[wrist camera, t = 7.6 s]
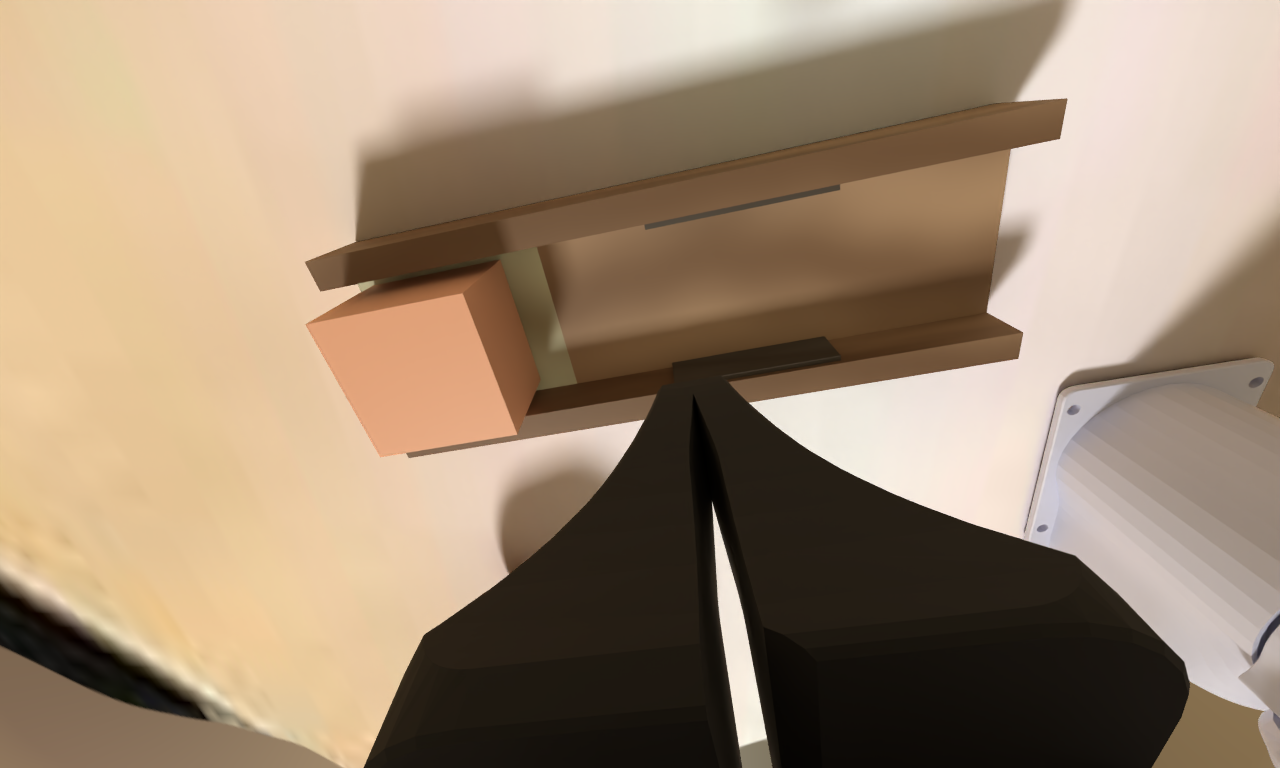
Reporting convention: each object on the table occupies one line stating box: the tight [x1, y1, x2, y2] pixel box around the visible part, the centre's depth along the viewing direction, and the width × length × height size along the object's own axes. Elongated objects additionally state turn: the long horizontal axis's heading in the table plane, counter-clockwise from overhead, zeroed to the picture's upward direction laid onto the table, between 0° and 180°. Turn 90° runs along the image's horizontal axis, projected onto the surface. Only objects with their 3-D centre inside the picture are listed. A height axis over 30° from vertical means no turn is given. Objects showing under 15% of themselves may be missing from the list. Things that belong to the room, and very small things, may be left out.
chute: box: [305, 99, 1067, 458], centre depth 17 cm, size 8×23×3 cm, turn 101°
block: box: [305, 260, 541, 457], centre depth 17 cm, size 5×5×4 cm
